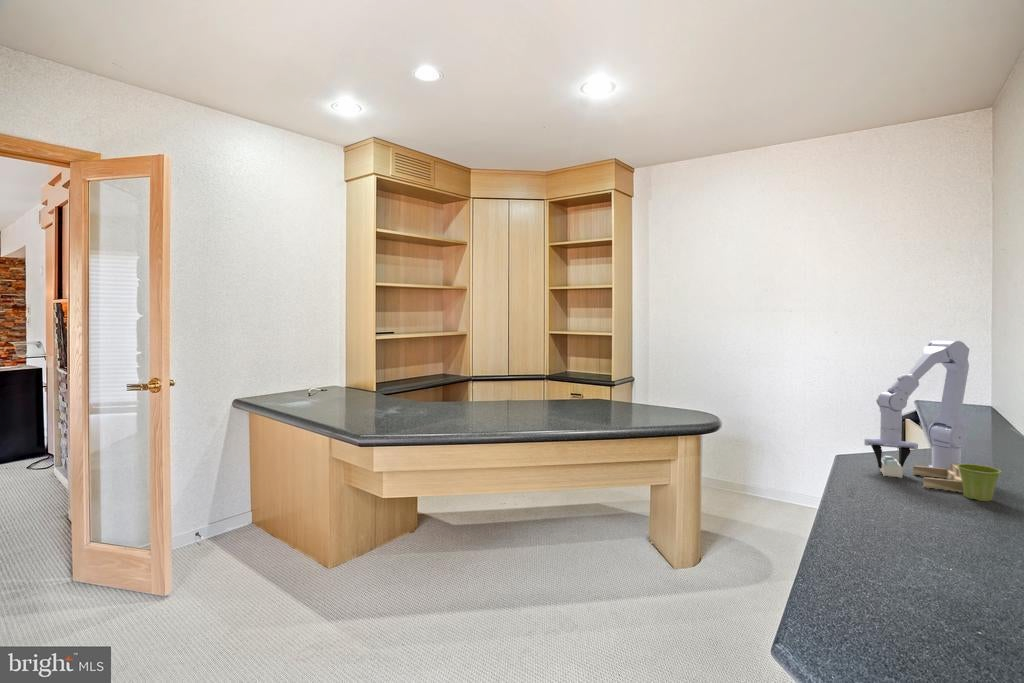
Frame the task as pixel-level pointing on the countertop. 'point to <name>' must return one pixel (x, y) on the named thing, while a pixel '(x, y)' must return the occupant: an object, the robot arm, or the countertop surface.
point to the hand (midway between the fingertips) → (889, 468)
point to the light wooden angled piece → (951, 474)
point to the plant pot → (978, 481)
